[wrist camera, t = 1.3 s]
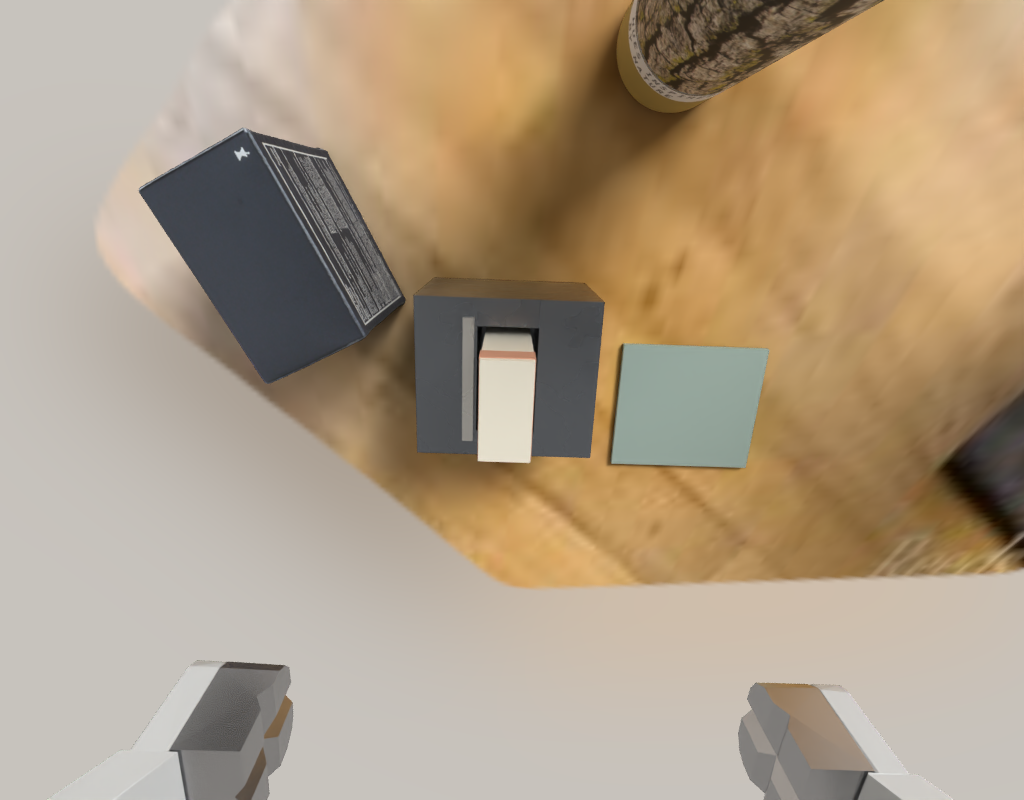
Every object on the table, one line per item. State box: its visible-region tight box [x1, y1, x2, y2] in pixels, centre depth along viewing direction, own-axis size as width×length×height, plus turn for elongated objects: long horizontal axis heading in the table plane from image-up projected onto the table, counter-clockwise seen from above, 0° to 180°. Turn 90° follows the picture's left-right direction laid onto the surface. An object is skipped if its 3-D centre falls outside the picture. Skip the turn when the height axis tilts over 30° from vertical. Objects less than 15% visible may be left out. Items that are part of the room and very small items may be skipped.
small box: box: [139, 128, 406, 384], centre depth 30 cm, size 11×6×10 cm, turn 25°
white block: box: [477, 326, 536, 463], centre depth 29 cm, size 3×5×10 cm, turn 178°
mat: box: [611, 343, 769, 468], centre depth 38 cm, size 10×9×1 cm
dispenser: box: [413, 278, 605, 458], centre depth 33 cm, size 10×9×8 cm
